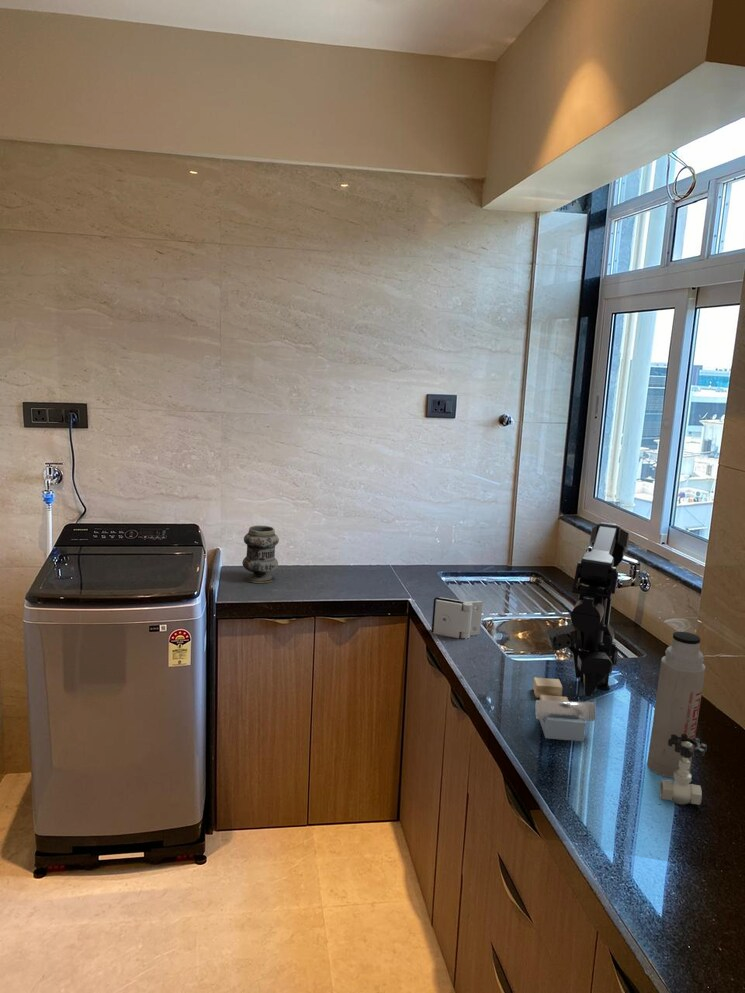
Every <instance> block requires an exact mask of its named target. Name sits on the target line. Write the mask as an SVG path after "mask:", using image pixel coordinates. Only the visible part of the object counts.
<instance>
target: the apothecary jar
mask: <svg viewBox="0 0 745 993" xmlns="http://www.w3.org/2000/svg"><path fill="white" fill-rule="evenodd" d="M243 542H244V544H245V545H246V556H245V557H244V558H243V560H242V562H241V563H242V567H243V568H244V569H245V570H247V571H248V572H251V574H248V575H246V576H245V578H244V579H245V581H246V582H248V583H253V584H268V583H272V582H273V581H274V580H275V577H274V576H273V575H271V574H268V573H272V572H273V571H275V570H276V569H277V568H278V566H279V560H278V559H277V558H276V556H275V555H276V554H275V552H276V546H277V545H278V544H279V542H280V538H279V536H278V535H277V534H276V531H275V528H274V527H273V526H268V525H252V526H249V528H248V533H246V534H245V535H244V537H243Z"/></svg>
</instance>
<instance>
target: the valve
mask: <svg viewBox="0 0 745 993" xmlns="http://www.w3.org/2000/svg"><path fill="white" fill-rule="evenodd" d="M682 741H684V742H683V743H682V745H681V742H682ZM700 742H701V740H700V738H698V737H695V738H693V739H690V738H688V736H687V735H686V734H681V737H677V735H674V734H672V735H671V739H668V745H669V746H671V747H672V744H674V745H675V749H674V751H675V752H678V753H680V755H681V756H682V758H681V759H680V760H679V766H678V767H680V768H679V769H678V770H675V771H674V778H673V779H674V780H668V779H660V780H659V797H660V799H661V800H667V801H672V802H673V803H675V804H678V805H687V804H692V805H699V806H700V805H701V803H702V798H703V794H702V786H701V785H700V784H693V783H691V782H692V774H691V772H690V773H689V771H688V769H689V768H690V761H689V760H688V758H691V757H692V758H693V757H694V756H696V755H698V756H700V757H704V756H705V752H707V749H708V745H707V744H706V743H700ZM691 743H692V744H694V748H692V746H693V745H692V744H691ZM690 769H691V768H690Z"/></svg>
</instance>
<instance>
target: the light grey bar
mask: <svg viewBox="0 0 745 993" xmlns="http://www.w3.org/2000/svg"><path fill="white" fill-rule="evenodd" d="M534 704H535V706H534V708H535V710H534V713H535V718H536V720H539V719H544V720H545V719H546V717H552V718H564V719H577V720H585V722H595V719H596V706H595V702H594V701H580V700H579V701H576V700H574V701H573V700H568V701H551V700H540V699H536V700H535V703H534Z"/></svg>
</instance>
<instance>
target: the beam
mask: <svg viewBox="0 0 745 993" xmlns="http://www.w3.org/2000/svg"><path fill="white" fill-rule="evenodd" d="M563 689H564V688H563V685H562V683H561V681H560V679H559V678H545V677H535V676H534V677H533V685H532V690H534V691H533V693H534V696H535V698H539V700H551V701H569V699H568V697H567V696H563Z"/></svg>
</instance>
